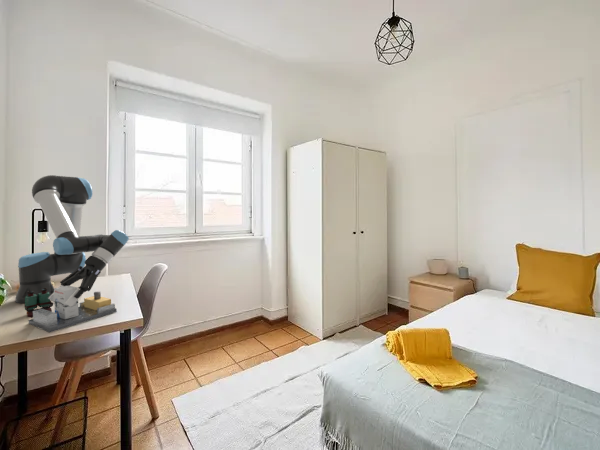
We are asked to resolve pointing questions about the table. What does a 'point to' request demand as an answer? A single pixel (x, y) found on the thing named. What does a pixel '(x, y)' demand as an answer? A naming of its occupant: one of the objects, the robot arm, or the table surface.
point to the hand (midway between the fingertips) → (59, 302)
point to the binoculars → (37, 301)
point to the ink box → (60, 299)
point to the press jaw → (96, 301)
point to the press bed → (52, 322)
